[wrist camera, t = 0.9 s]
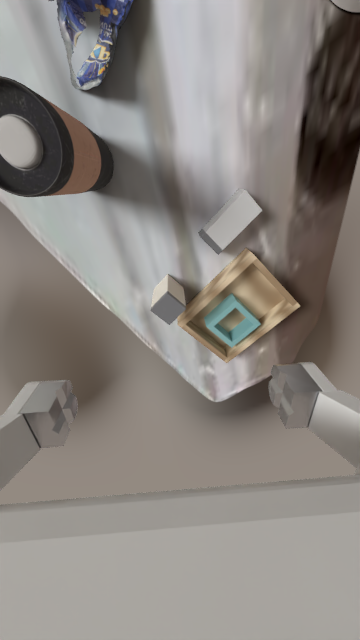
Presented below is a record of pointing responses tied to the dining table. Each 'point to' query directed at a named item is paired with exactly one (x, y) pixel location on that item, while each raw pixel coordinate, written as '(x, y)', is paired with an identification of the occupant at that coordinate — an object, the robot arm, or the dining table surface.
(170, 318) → the ivory connector
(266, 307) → the birch crate
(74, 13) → the snack package
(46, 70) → the dining table surface
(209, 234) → the grey plug
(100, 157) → the travel mug
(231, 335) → the teal socket
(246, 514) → the robot arm
